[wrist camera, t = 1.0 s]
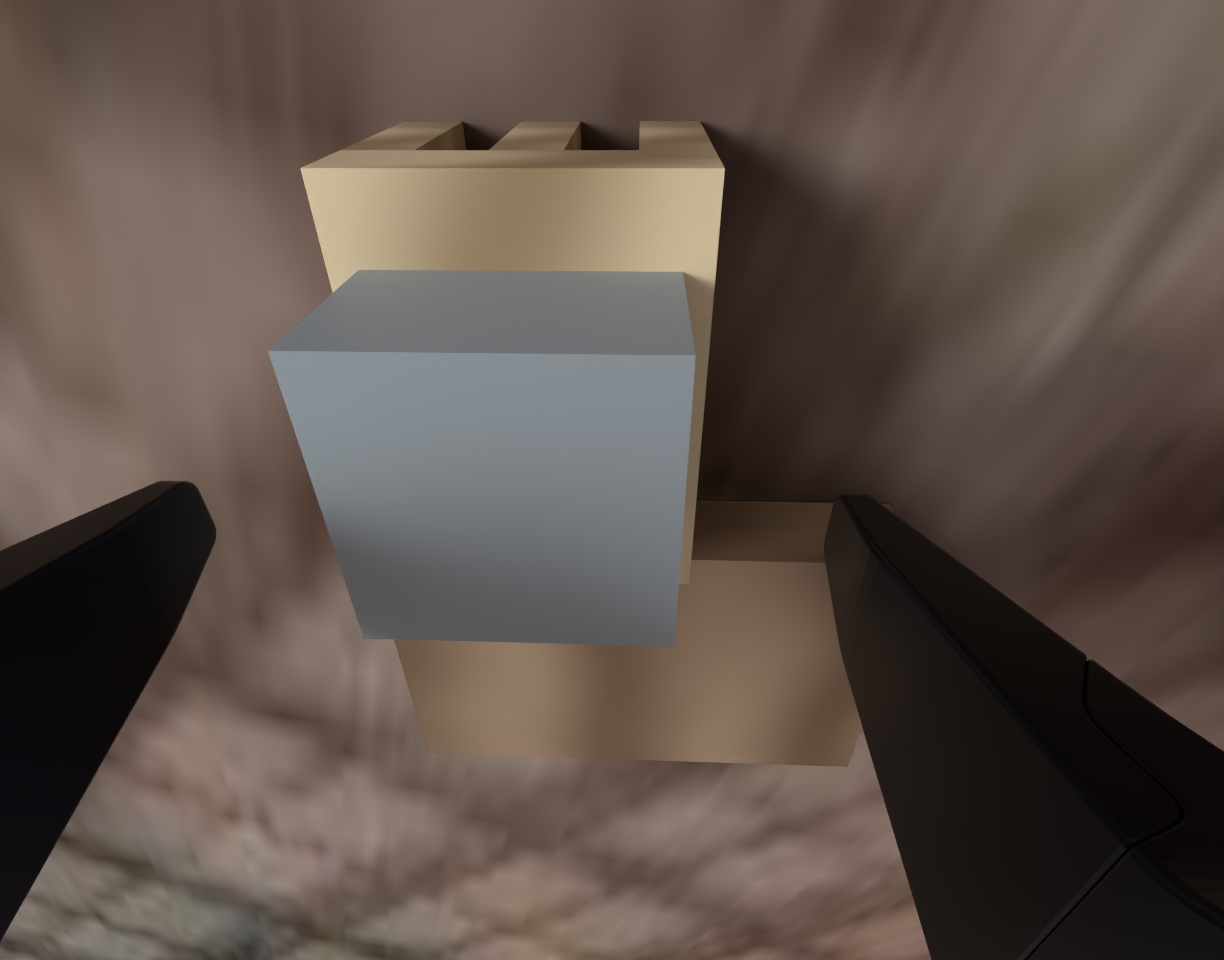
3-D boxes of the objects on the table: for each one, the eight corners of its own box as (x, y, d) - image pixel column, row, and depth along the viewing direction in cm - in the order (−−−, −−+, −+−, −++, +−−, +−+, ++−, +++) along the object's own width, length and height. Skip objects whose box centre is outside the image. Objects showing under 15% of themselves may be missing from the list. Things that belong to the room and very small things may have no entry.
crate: (683, 271, 10) (695, 355, 7) (668, 526, 13) (674, 646, 10) (358, 269, 10) (268, 350, 8) (416, 521, 13) (363, 638, 11)
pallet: (699, 121, 13) (725, 168, 9) (678, 453, 18) (689, 584, 14) (405, 121, 13) (301, 168, 9) (460, 450, 18) (406, 578, 14)
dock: (889, 503, 18) (921, 564, 16) (830, 701, 24) (847, 766, 22) (397, 494, 19) (368, 552, 17) (445, 690, 24) (427, 753, 22)
